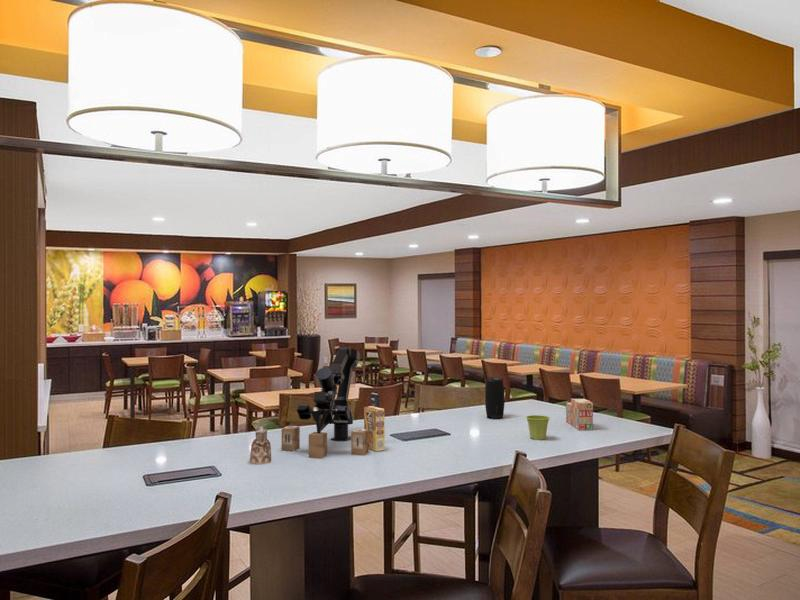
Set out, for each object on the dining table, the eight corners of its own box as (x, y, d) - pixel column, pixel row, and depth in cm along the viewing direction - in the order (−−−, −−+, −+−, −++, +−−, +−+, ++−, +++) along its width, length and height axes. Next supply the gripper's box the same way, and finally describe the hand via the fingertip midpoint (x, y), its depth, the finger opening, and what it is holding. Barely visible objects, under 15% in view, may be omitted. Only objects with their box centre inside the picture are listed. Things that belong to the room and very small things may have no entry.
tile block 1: (287, 447, 224) (287, 425, 224) (299, 448, 223) (299, 425, 223) (281, 450, 219) (281, 427, 219) (293, 451, 218) (293, 428, 218)
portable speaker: (487, 416, 295) (486, 376, 295) (506, 417, 292) (505, 377, 292) (483, 418, 287) (483, 378, 287) (503, 420, 284) (502, 378, 284)
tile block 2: (355, 451, 218) (355, 428, 218) (368, 452, 217) (368, 429, 217) (350, 454, 213) (350, 431, 213) (364, 455, 211) (364, 431, 212)
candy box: (385, 450, 219) (385, 408, 220) (375, 451, 217) (375, 409, 217) (373, 446, 227) (373, 405, 227) (363, 447, 224) (363, 406, 225)
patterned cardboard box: (565, 422, 279) (565, 395, 279) (579, 422, 279) (579, 395, 279) (578, 430, 258) (578, 402, 258) (593, 430, 257) (593, 402, 258)
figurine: (249, 464, 198) (250, 428, 198) (249, 459, 205) (249, 424, 205) (271, 463, 200) (272, 427, 200) (270, 458, 207) (270, 423, 207)
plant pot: (548, 441, 235) (548, 419, 235) (524, 440, 238) (524, 418, 238) (550, 437, 244) (550, 415, 244) (527, 435, 247) (527, 414, 247)
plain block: (314, 454, 213) (314, 431, 213) (327, 455, 212) (327, 432, 212) (308, 457, 208) (308, 434, 208) (321, 458, 207) (322, 435, 207)
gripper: (298, 382, 218) (287, 417, 207) (348, 383, 215) (339, 419, 204) (305, 401, 226) (295, 436, 214) (353, 402, 222) (345, 438, 211)
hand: (318, 432), depth 211 cm, fingers closed
